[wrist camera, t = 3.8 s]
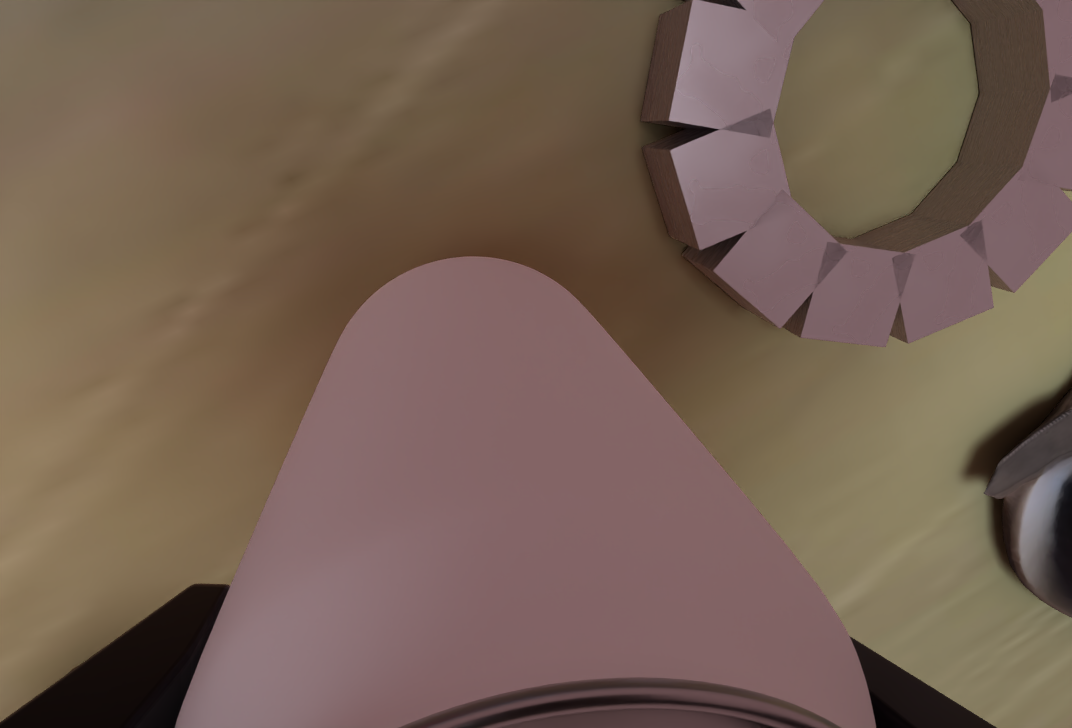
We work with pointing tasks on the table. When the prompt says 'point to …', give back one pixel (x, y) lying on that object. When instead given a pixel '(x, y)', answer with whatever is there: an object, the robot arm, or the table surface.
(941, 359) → the table surface
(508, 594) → the can
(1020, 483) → the avocado toast plate
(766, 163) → the toothed ring
